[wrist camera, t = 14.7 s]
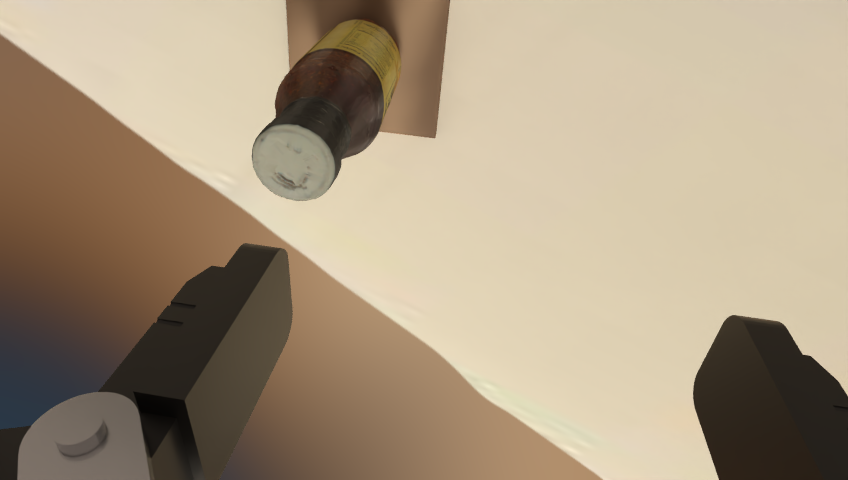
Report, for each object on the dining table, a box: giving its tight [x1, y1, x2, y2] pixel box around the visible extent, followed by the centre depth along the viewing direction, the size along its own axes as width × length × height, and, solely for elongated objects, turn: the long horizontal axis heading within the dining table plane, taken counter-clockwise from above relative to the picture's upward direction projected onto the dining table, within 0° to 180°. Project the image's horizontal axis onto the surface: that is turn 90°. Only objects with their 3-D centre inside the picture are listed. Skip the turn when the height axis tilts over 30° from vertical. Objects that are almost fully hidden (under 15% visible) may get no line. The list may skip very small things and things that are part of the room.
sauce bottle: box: [252, 19, 401, 201], centre depth 34 cm, size 7×6×20 cm
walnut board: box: [286, 0, 450, 138], centre depth 42 cm, size 12×12×1 cm
